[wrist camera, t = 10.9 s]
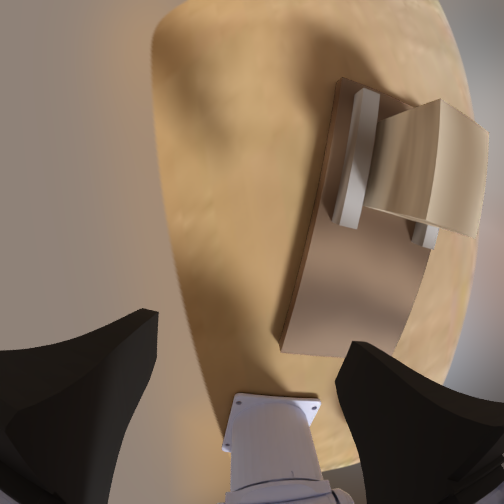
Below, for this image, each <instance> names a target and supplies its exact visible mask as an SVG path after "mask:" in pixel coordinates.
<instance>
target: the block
mask: <svg viewBox="0 0 504 504" xmlns="http://www.w3.org/2000/svg"><path fill="white" fill-rule="evenodd" d="M488 147H489V132H488V131H486V130H485V129H484V128H482V127H481V126H480V125H479V124H477V123H476V122H475V121H473V120H472V119H470V118H469V117H468V116H466V115H465V114H463V113H462V112H461V111H459V110H458V109H456V108H455V107H453V106H452V105H450V104H448V103H447V102H445V101H444V100H442V99H438V100H435V101H432V102H429V103H426V104H424V105H421V106H418V107H415V108H413V109H410V110H407V111H405V112H402V113H399V114H397V115H394V116H392V117H389V118H387V119H384V120H382V121H379V122H377V129H376V137H375V143H374V150H373V156H372V162H371V167H370V173H369V178H368V183H367V188H366V193H365V198H364V203H363V206H366V207H369V208H373V209H376V210H379V211H383V212H386V213H389V214H392V215H396V216H399V217H402V218H405V219H408V220H412V221H416V222H419V223H423V224H427V225H430V226H434V227H437V228H441V229H444V230H447V231H451V232H454V233H457V234H461V235H464V236H467V237H470V238H473V239H476V235H477V231H478V226H479V221H480V216H481V210H482V204H483V198H484V191H485V183H486V175H487V163H488Z"/></svg>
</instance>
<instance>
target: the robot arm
mask: <svg viewBox="0 0 504 504" xmlns="http://www.w3.org/2000/svg"><path fill="white" fill-rule="evenodd" d="M158 314H159V312H157V311H152V310H147V309H143V308H142V309H139V310H137V311H135V312H133V313H131V314H129V315H127V316H125V317H123V318H121V319H119V320H117V321H115V322H112V323H110V324H108V325H106V326H104V327H101V328H99V329H97V330H94V331H92V332H89V333H87V334H85V335H82V336H79V337H77V338H74V339H70V340H67V341H63V342H60V343H56V344H52V345H46V346H41V347H35V348H29V349H21V350H6V351H0V504H108V498H109V492H110V488H111V483H112V478H113V474H114V470H115V466H116V462H117V458H118V454H119V451H120V447H121V444H122V440H123V438H124V434H125V432H126V429H127V427H128V424H129V422H130V420H131V418H132V416H133V413H134V411H135V409H136V407H137V405H138V403H139V401H140V399H141V396H142V394H143V392H144V390H145V388H146V386H147V384H148V382H149V380H150V377H151V374H152V371H153V368H154V365H155V362H156V358H157V333H158V332H157V331H158ZM335 385H336V390H337V395H338V399H339V403H340V406H341V408H342V411H343V413H344V416H345V419H346V421H347V424H348V426H349V429H350V431H351V434H352V437H353V439H354V442H355V444H356V447H357V450H358V454H359V458H360V462H361V467H362V471H363V477H364V483H365V489H366V499H367V504H504V469H503V467H502V466H501V464H502V463H503V462H504V457H503V456H502V454H503V453H504V403H501V402H494V401H489V400H484V399H479V398H475V397H472V396H469V395H465V394H462V393H459V392H457V391H454V390H451V389H449V388H447V387H444V386H442V385H440V384H438V383H436V382H434V381H432V380H430V379H428V378H426V377H424V376H423V375H421V374H419V373H417V372H416V371H414V370H412V369H411V368H409V367H407V366H406V365H404V364H403V363H401V362H399V361H398V360H396V359H395V358H393V357H392V356H390V355H388V354H387V353H385V352H384V351H382V350H380V349H379V348H377V347H375V346H374V345H372V344H370V343H368V342H364V341H352V343H351V345H350V348H349V350H348V352H347V355H346V357H345V360H344V362H343V364H342V366H341V369H340V371H339V373H338V375H337V378H336V380H335ZM237 401H241V402H237ZM320 405H321V401H320V399H315V398H291V397H276V396H264V395H254V394H246V393H237V394H235V396H234V399H233V404H232V408H231V412H230V416H229V420H228V424H227V428H226V432H225V436H224V440H223V444H222V450H223V451H225V452H231V492H226V499H225V503H217V504H354V501H353V499H352V498H351V496H350V495H349V494H348V493H346V492H344V491H343V490H342V489H340V488H336V489H332V490H331V488H330V484H329V480H323V477H322V473H321V469H320V465H319V461H318V458H317V454H316V450H315V446H314V443H313V439H312V435H311V431H310V427H309V426H310V425H311V423H312V421H313V419H314V417H315V415H316V413H317V411H318V409H319V407H320ZM314 406H315V407H314Z"/></svg>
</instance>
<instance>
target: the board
mask: <svg viewBox="0 0 504 504" xmlns="http://www.w3.org/2000/svg"><path fill="white" fill-rule="evenodd" d="M413 108H414V107H412V106H410V105H408V104H406V103H404V102H402V101H400V100H398V99H396V98H393V97H391V96H389V95H387V94H384V93H382V92H380V91H377V90H375V89H373V88H370V87H368V86H365V85H362V84H360V83H357V82H354V81H352V80H349V79H346V78H343V77H342V78H341V79H340V80H339V81H338V82H337V83H336V90H335V97H334V103H333V109H332V115H331V121H330V127H329V133H328V138H327V144H326V149H325V155H324V160H323V165H322V170H321V175H320V180H319V185H318V190H317V195H316V199H315V204H314V208H313V213H312V217H311V222H310V226H309V231H308V235H307V239H306V243H305V248H304V252H303V256H302V260H301V264H300V268H299V272H298V276H297V280H296V284H295V287H294V291H293V295H292V299H291V303H290V306H289V310H288V314H287V317H286V321H285V324H284V328H283V331H282V335H281V338H280V342H279V347H280V351H281V353H290V354H300V355H311V356H324V357H340V358H345V357H346V355H347V352H348V350H349V348H350V345H351V343H352V341H364V342H368V343H370V344H372V345H374V346H375V347H377V348H379V349H380V350H382V351H384V352H385V353H387V354H388V355H390V356H392V354H393V352H394V350H395V348H396V346H397V343H398V341H399V339H400V337H401V334H402V332H403V330H404V327H405V325H406V322H407V320H408V317H409V315H410V312H411V310H412V307H413V304H414V302H415V299H416V296H417V293H418V290H419V287H420V284H421V281H422V278H423V275H424V272H425V269H426V265H427V262H428V259H429V255H430V251H431V249H433V250H434V247H435V243H436V239H437V235H438V231H439V228H437V227H434V226H430V225H427V224H423V223H419V222H416V221H412V220H408V219H405V218H402V217H399V216H396V215H392V214H389V213H386V212H383V211H379V210H376V209H373V208H369V207H366V206H363V203H364V198H365V193H366V188H367V183H368V178H369V173H370V167H371V162H372V156H373V150H374V143H375V137H376V129H377V122H379V121H382V120H384V119H387V118H389V117H392V116H394V115H397V114H399V113H402V112H405V111H407V110H410V109H413Z"/></svg>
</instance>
